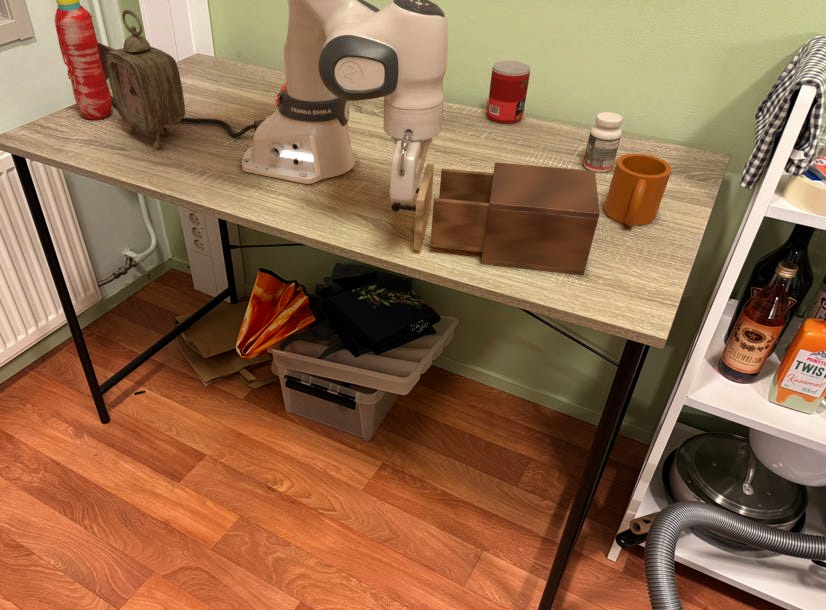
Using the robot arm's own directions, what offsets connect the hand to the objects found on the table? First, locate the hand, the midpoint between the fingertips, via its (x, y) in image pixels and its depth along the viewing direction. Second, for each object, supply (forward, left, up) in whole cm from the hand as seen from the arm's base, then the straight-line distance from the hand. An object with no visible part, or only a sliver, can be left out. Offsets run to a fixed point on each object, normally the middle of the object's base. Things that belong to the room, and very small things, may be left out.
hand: (408, 201), depth 111 cm
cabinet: (+21, 0, -6) cm, 22 cm away
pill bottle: (+33, +32, -6) cm, 46 cm away
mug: (+37, +13, -6) cm, 39 cm away
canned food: (+14, +53, -6) cm, 55 cm away
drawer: (+7, 0, -5) cm, 9 cm away
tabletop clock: (-58, +28, -6) cm, 65 cm away
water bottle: (-76, +38, -6) cm, 85 cm away
